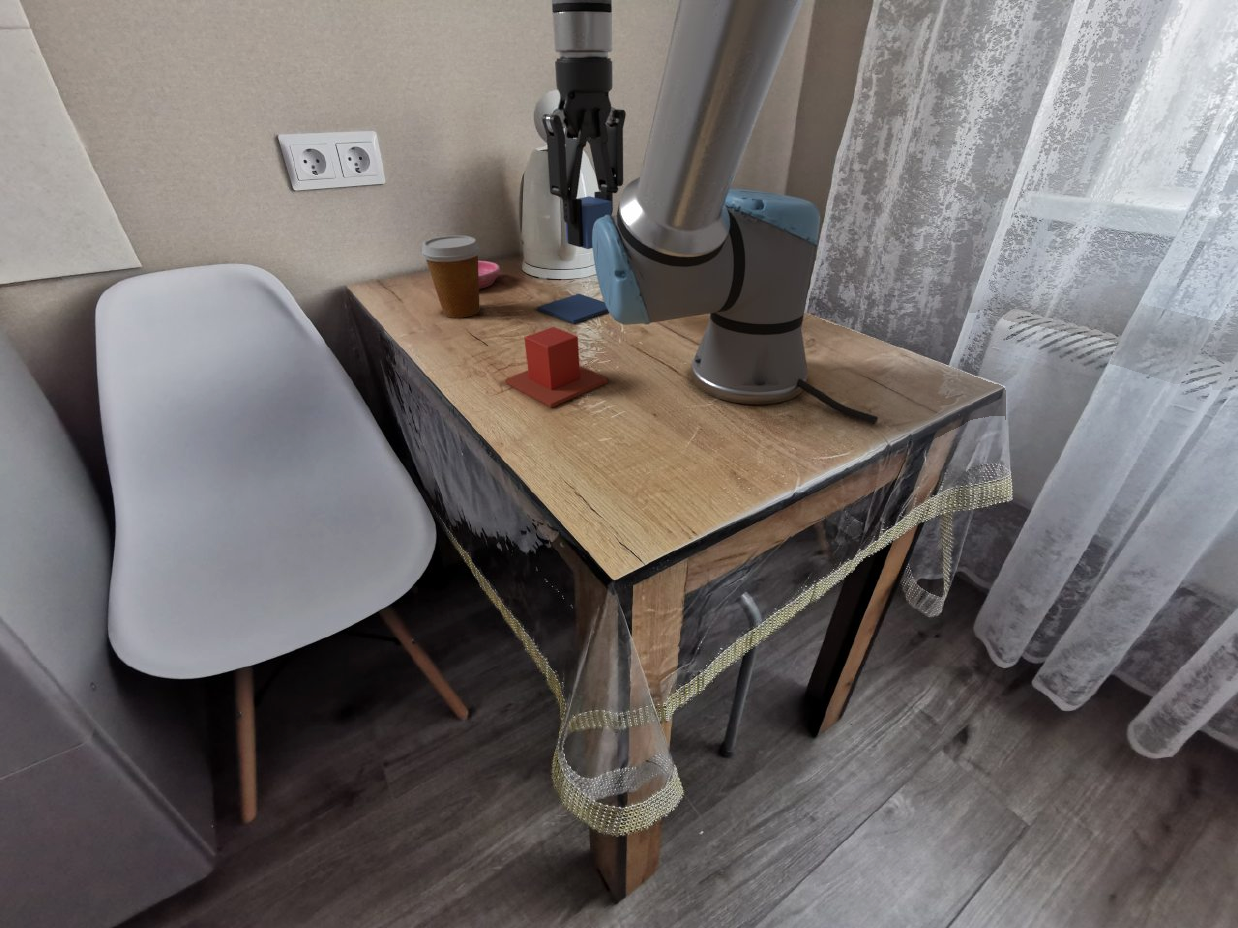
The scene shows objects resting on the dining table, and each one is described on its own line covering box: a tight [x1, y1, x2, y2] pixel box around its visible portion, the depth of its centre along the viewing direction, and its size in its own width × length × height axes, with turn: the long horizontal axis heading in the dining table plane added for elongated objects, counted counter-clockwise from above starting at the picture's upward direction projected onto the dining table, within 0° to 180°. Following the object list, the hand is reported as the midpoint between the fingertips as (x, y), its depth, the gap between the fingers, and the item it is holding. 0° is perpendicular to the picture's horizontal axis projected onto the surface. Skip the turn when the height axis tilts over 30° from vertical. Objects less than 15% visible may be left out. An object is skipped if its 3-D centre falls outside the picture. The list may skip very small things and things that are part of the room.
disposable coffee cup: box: [421, 235, 481, 319], centre depth 96 cm, size 10×10×12 cm
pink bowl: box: [478, 260, 501, 290], centre depth 112 cm, size 12×12×3 cm
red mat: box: [504, 365, 609, 409], centre depth 76 cm, size 10×10×1 cm
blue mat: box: [536, 293, 609, 324], centre depth 100 cm, size 10×10×1 cm
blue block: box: [565, 195, 613, 250], centre depth 85 cm, size 5×5×6 cm
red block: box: [523, 326, 581, 390], centre depth 74 cm, size 5×5×6 cm
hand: (589, 241), depth 87 cm, fingers closed on blue block, 5 cm apart
